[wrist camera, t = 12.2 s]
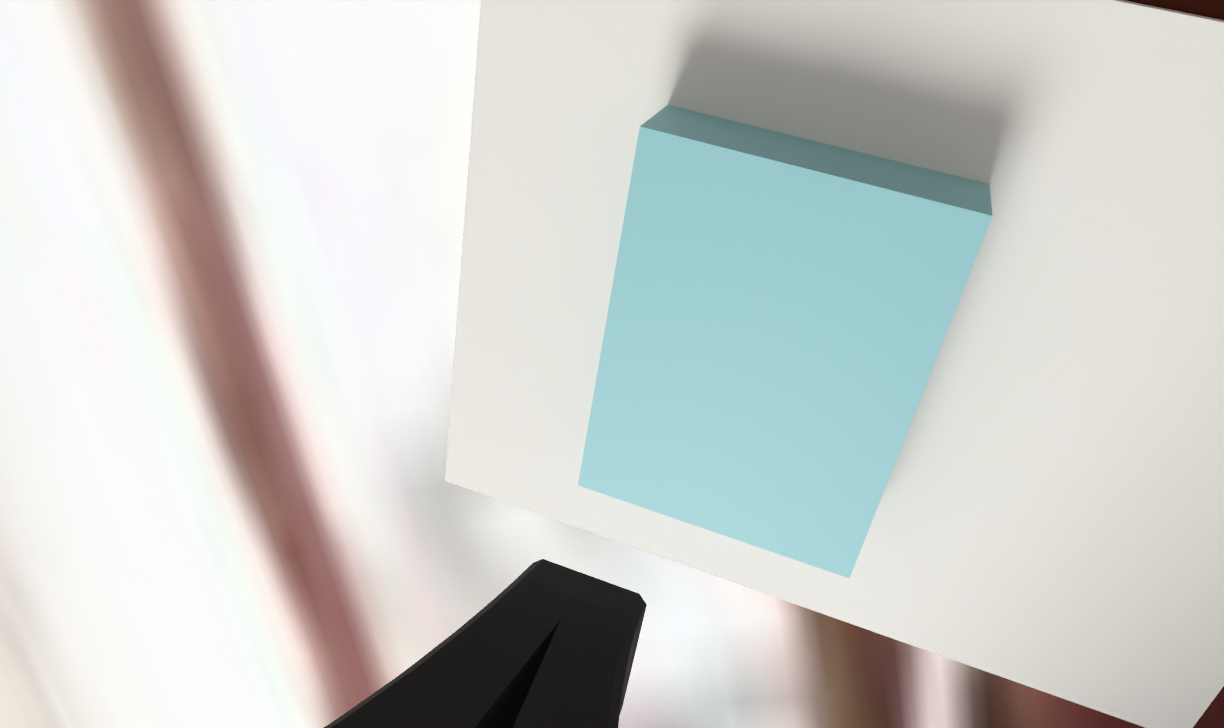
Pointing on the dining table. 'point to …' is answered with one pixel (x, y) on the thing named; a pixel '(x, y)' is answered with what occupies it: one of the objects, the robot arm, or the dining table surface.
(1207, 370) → the mat
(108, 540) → the dining table surface
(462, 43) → the dining table surface
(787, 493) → the slab
